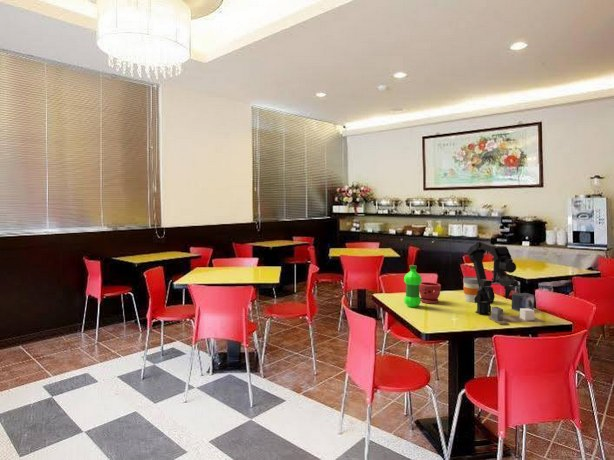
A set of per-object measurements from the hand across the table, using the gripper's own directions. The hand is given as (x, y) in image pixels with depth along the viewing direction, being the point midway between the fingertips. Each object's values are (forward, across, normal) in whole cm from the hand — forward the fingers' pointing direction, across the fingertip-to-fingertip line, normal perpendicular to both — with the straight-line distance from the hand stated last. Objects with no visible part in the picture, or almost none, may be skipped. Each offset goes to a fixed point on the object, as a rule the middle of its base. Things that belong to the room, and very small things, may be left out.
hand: (498, 298), depth 217 cm
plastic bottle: (+12, -36, +32) cm, 50 cm away
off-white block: (+10, +15, -2) cm, 19 cm away
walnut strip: (+12, +9, -2) cm, 15 cm away
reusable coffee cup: (+12, +8, +45) cm, 47 cm away
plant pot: (+12, -21, +44) cm, 50 cm away
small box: (+12, +24, +17) cm, 32 cm away
